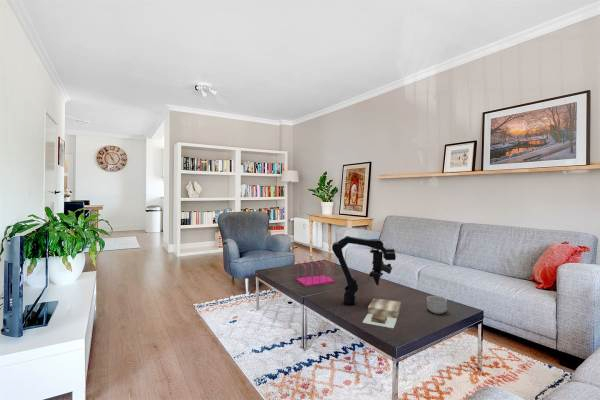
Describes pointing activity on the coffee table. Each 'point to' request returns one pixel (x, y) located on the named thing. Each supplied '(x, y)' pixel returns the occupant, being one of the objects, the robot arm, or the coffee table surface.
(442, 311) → the teacup
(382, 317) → the walnut tile
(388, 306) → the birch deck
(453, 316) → the coffee table surface
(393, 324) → the sage mat
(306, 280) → the file sorter
